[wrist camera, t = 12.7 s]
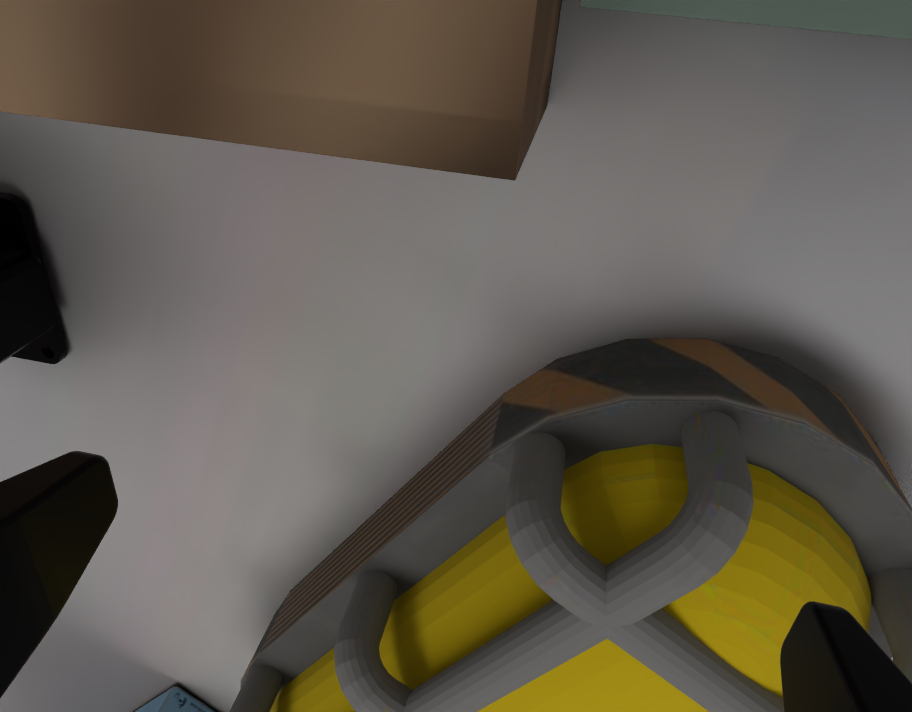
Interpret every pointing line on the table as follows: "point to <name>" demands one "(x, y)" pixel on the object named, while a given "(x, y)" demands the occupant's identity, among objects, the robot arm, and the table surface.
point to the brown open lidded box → (294, 73)
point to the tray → (785, 13)
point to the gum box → (175, 703)
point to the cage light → (606, 549)
